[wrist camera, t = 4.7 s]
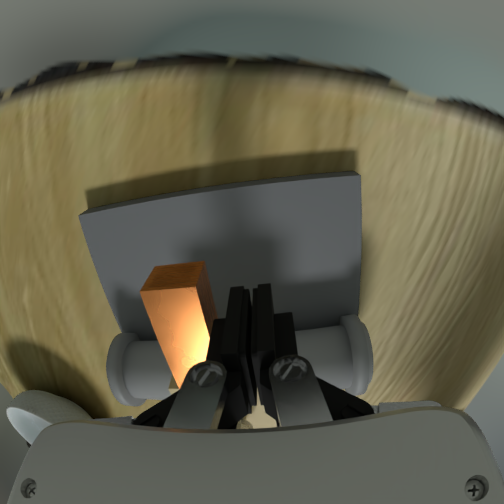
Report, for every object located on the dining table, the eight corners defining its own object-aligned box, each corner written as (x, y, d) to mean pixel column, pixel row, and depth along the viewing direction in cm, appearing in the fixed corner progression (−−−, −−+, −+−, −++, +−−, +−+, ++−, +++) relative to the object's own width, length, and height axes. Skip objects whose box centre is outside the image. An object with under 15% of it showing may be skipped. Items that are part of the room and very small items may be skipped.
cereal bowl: (126, 409, 32) (110, 453, 26) (119, 452, 39) (109, 485, 33) (17, 354, 30) (-7, 389, 24) (33, 411, 37) (18, 440, 30)
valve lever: (256, 435, 18) (255, 459, 16) (213, 436, 18) (210, 459, 16) (214, 259, 12) (206, 285, 10) (146, 267, 13) (130, 292, 11)
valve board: (353, 171, 20) (415, 213, 11) (347, 374, 28) (366, 451, 20) (87, 209, 21) (14, 263, 13) (158, 387, 30) (136, 458, 21)
